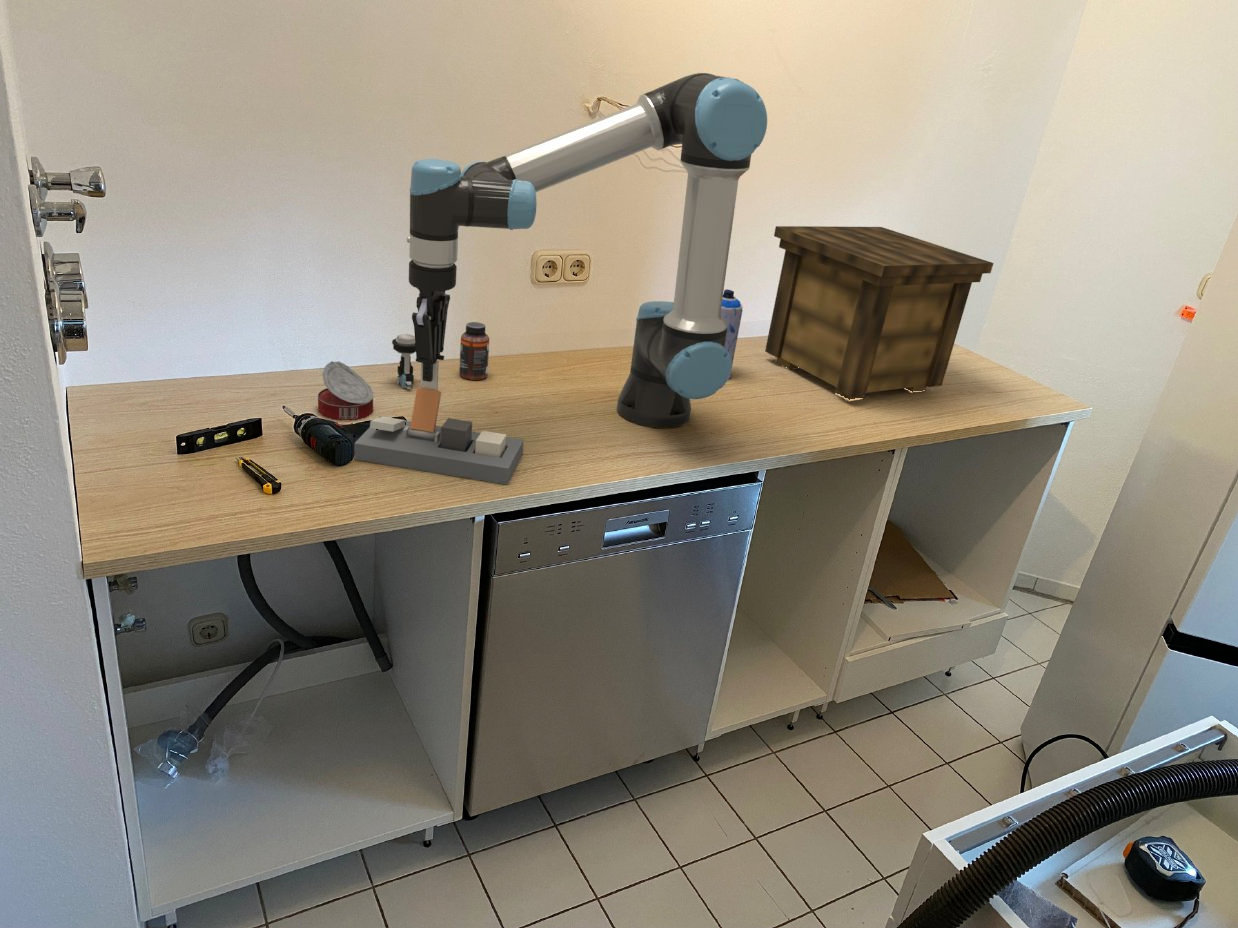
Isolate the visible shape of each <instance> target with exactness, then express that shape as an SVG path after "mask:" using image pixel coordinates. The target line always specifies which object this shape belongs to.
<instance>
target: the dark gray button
mask: <svg viewBox="0 0 1238 928" xmlns="http://www.w3.org/2000/svg"><path fill="white" fill-rule="evenodd" d="M441 426H442V427H441V444H440V448H444V449H451V450H457V451H463V452H466V450H467V449H468V447H469V446H470V444H471V437H472V431H473V421H470V420H464V419H457V418H452V417H447V419H446V420H445V422H444V423H443V424H442V425H441Z"/></svg>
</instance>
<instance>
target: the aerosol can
mask: <svg viewBox="0 0 1238 928" xmlns="http://www.w3.org/2000/svg"><path fill="white" fill-rule="evenodd" d="M734 294H735V291H733V290H731V289H727V288H726V289H724V291H723V298H722V306H721V313H720V314H721V317H722V318H723V319H724V320H725V321H726V323H727V332H726V340H725V348H726V349H727V350H728V352H729V354H730V357H731V360H732V365H733V364H734V357H735V352H736V347H737V343H738V342H737V341H738V336H739V331H740V328H741V327H740V326H741V321H742V320H741V319H742V315H743V304H741V301H740V300H739V299H738V298H737V297H736V296H734ZM731 378H732V373H731V374H730V376H729V379H728V380H730V379H731Z"/></svg>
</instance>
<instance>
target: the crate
mask: <svg viewBox="0 0 1238 928" xmlns="http://www.w3.org/2000/svg"><path fill="white" fill-rule="evenodd" d="M773 236H774V237H775V238H778V239H780V240H779V245H778V248H779V249H781V250H782V249H783V250H785V251H784V256H783V261H782V266H781V271H780V276H779V280H778V285H777V289H776V290H777V291H776V295H775V300H774V306H773V311H772V315H771V320H770V325H769V331H768V335H767V341H766V345H765V349H764V352H765V353H767V354H769V355H770V356H772V357H774V358H777V359H776V364H778V365H779V364H780V366H781V365H783V366H784V367H783V366H782V367H783V368H785V367H787V368H788V369H787V368H786V369H787V370H794V369H793V368H798V367H799V368H798V369H802V370H803V371H805V372H807V373H809V374H811V375H813V376H814V377H817V378H818V379H820V380H822V381H823V382H826V383H828V384H830V385H832V386H834V387H835V390H834V394H835V393H837V394H840V395H841V396H844V397H845V398H848V399H849V400H850V399H855V398H863V399H864V397H865V396H866V394H867V393H875V392H884V391H890V390H891V391H892V390H898V389H899V390H900V389H901V390H902V388H906V389H908V390H910V391H912V392H913V391H923V390H925V391H926V389H927V388H933V387H941V386H943V382H944V379H945V376H946V372H947V368H948V366H949V362H950V359H951V355H952V352H953V348H954V347H955V346H954V345H955V342H956V338H957V336H958V335H957V334H958V331H959V329H960V324H961V322H962V318H963V314H964V312H965V308H966V304H967V300H968V297H969V294H970V291H971V287H972V284H973V283H981V281H982V277H983V275H984V274H991V273H992V270H993V266H994V262H992V261H989V260H987V259H986V260H985V259H982V258H979V257H976V256H973V255H970V254H967V253H964V252H960V251H957V250H955V249H951V248H948V247H945V246H942V245H938V244H935V243H932V242H929V241H926V240H924V239H923V240H922V239H920V238H917V237H914V236H910V235H908V234H904V233H901V232H899V231H895V230H892V229H889V228H886V227H883V226H825V225H824V226H821V225H820V226H817V225H816V226H815V225H814V226H806V225H805V226H804V225H803V226H802V225H801V226H800V225H799V226H797V225H796V226H795V225H793V226H791V225H790V226H789V225H788V226H787V225H786V226H785V225H783V226H782V225H778V226H775V229H774V233H773Z"/></svg>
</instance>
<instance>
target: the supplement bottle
mask: <svg viewBox="0 0 1238 928" xmlns="http://www.w3.org/2000/svg"><path fill="white" fill-rule="evenodd" d="M459 346H460V347H459V348H460V350H459V351H460V352H459V368H458V371H459V373H458V374H459V375H460V377H462V378H463V379H465V380H471V381H478V380H479V381H480V380H483V379H486V378H487V376H488V373H489V354H490V337H489V335H488V334H487V333H486V324H484V323H482V322H479V321H472V322H467V323H466V325H465V331H464V332H463V333H462V334H461V337H460V345H459Z"/></svg>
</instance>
